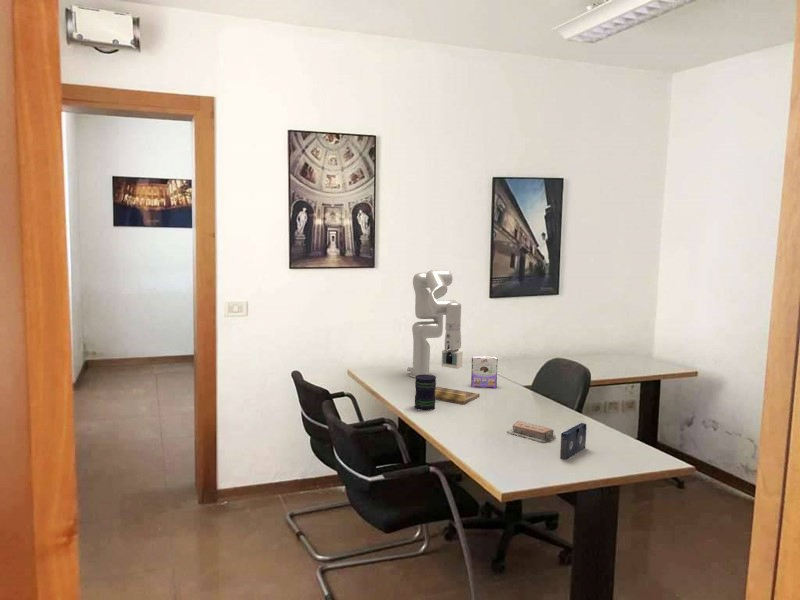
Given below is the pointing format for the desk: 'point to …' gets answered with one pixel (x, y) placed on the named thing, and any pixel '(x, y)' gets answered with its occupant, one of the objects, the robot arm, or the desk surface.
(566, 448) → the vhs cassette tape
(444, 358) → the cream carton
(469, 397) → the shelf board
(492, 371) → the candy box
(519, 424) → the packaged product
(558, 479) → the desk surface
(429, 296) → the robot arm
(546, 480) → the desk surface
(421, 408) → the storage jar
